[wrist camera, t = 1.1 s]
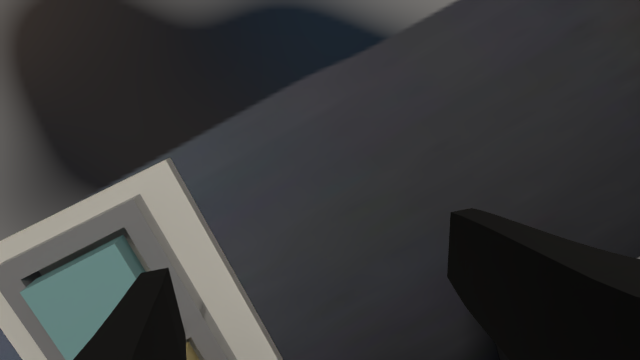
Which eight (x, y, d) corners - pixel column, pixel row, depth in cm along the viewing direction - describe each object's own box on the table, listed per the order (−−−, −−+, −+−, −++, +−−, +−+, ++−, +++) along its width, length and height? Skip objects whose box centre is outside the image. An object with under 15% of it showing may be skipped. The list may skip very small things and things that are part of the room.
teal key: (168, 308, 23) (163, 323, 21) (86, 352, 22) (74, 372, 20) (123, 234, 22) (114, 243, 20) (36, 278, 21) (19, 292, 19)
